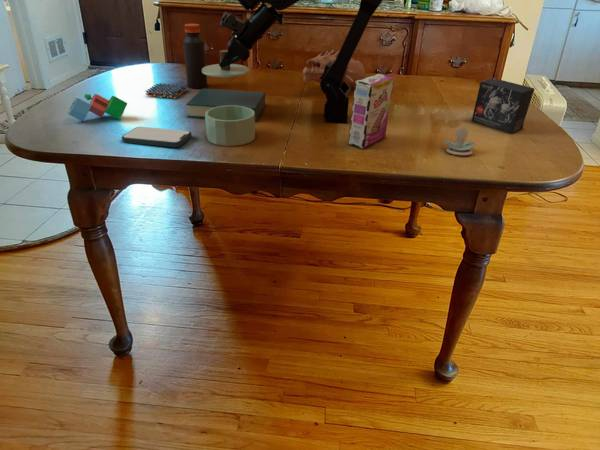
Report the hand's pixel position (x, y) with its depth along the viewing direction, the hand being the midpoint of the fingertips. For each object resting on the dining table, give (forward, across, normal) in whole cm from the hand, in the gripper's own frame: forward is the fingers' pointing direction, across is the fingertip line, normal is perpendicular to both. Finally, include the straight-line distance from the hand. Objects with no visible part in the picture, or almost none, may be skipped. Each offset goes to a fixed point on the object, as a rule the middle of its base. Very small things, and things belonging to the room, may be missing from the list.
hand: (220, 65), depth 131 cm
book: (+9, 0, +10) cm, 14 cm away
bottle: (+18, -27, +2) cm, 32 cm away
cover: (0, 0, +2) cm, 2 cm away
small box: (-47, +11, +67) cm, 83 cm away
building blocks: (+33, +9, -14) cm, 37 cm away
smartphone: (+20, +23, -1) cm, 31 cm away
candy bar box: (-18, +24, +38) cm, 48 cm away
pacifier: (-34, +31, +54) cm, 70 cm away
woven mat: (+24, -17, -5) cm, 30 cm away
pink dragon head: (-16, -21, +36) cm, 45 cm away
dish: (+7, +21, +12) cm, 25 cm away
